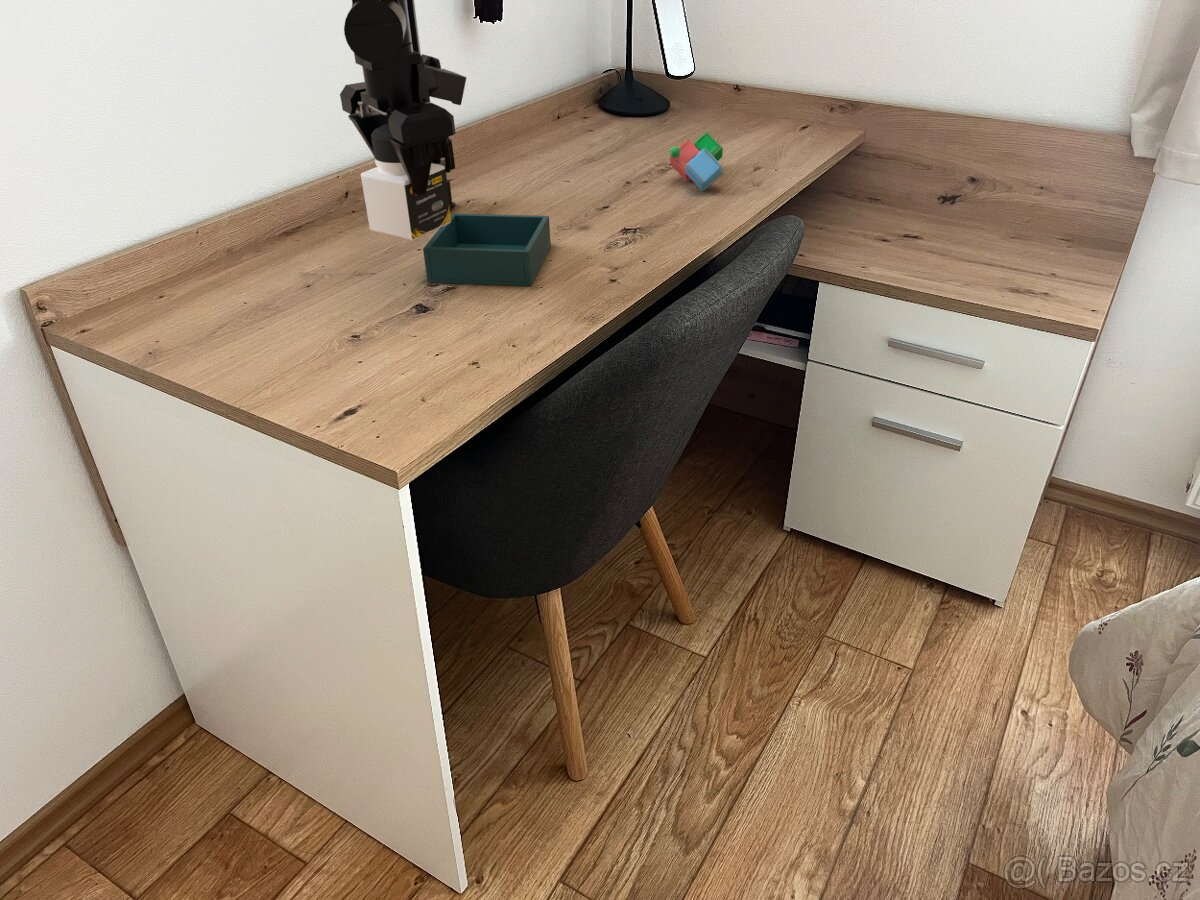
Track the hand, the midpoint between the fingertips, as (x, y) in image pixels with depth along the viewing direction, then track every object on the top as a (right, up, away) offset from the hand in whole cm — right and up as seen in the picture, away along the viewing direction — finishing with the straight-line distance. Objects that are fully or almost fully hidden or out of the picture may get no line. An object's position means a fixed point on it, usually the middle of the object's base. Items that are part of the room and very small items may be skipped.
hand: (405, 184), depth 111 cm
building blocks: (+40, +11, +38) cm, 56 cm away
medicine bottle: (0, -5, +3) cm, 6 cm away
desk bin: (+9, -7, +12) cm, 16 cm away
